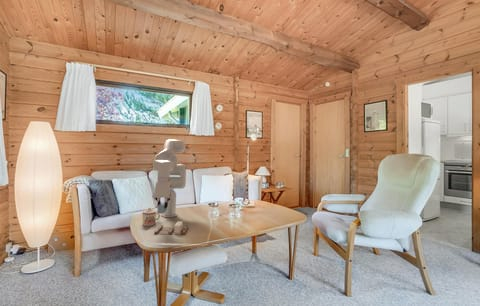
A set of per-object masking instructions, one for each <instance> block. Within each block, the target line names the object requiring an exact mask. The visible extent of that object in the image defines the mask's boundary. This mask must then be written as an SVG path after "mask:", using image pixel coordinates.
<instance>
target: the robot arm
mask: <svg viewBox="0 0 480 306" xmlns="http://www.w3.org/2000/svg"><path fill="white" fill-rule="evenodd" d="M162 147H163V148H162V149H163V150H162V151H160V152H159V153H157V154H156V155H155V156H154V158H153V161H152V170H153V171H154V172H157V181H156V182H155V187H154V193H153V195H152V199H154V200H155V201H156V202H157V205H156V207H157V208H158V205H159V204H161V203H162V202H161V198H163V203H165V207H164V208H167V211H165V212H164V213H163V214H162V213H160V217H163V218H174V217H177V216H178V213H177V207H176V206H177V192H176V191H175V189H176V190H177V189H180V190H181V189H184V188H185V187H186V178H187V177H186V176H187V168H186V165H185V164H183V163H178V156H177V155H176V153H177V154H183V153H185V151H186V143H185V141H183V140H182V139H167V140H166V141H165V142H164V144H163V146H162Z"/></svg>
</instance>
